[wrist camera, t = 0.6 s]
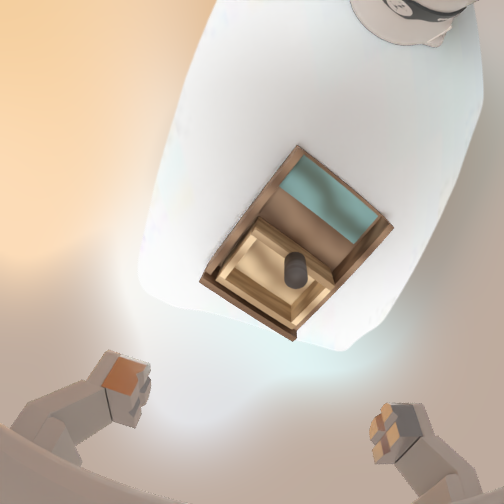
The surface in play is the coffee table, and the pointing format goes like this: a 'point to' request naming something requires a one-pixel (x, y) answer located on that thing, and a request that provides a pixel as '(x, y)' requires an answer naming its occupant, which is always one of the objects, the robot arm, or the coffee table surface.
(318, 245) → the bay
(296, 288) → the crate
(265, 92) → the coffee table surface
